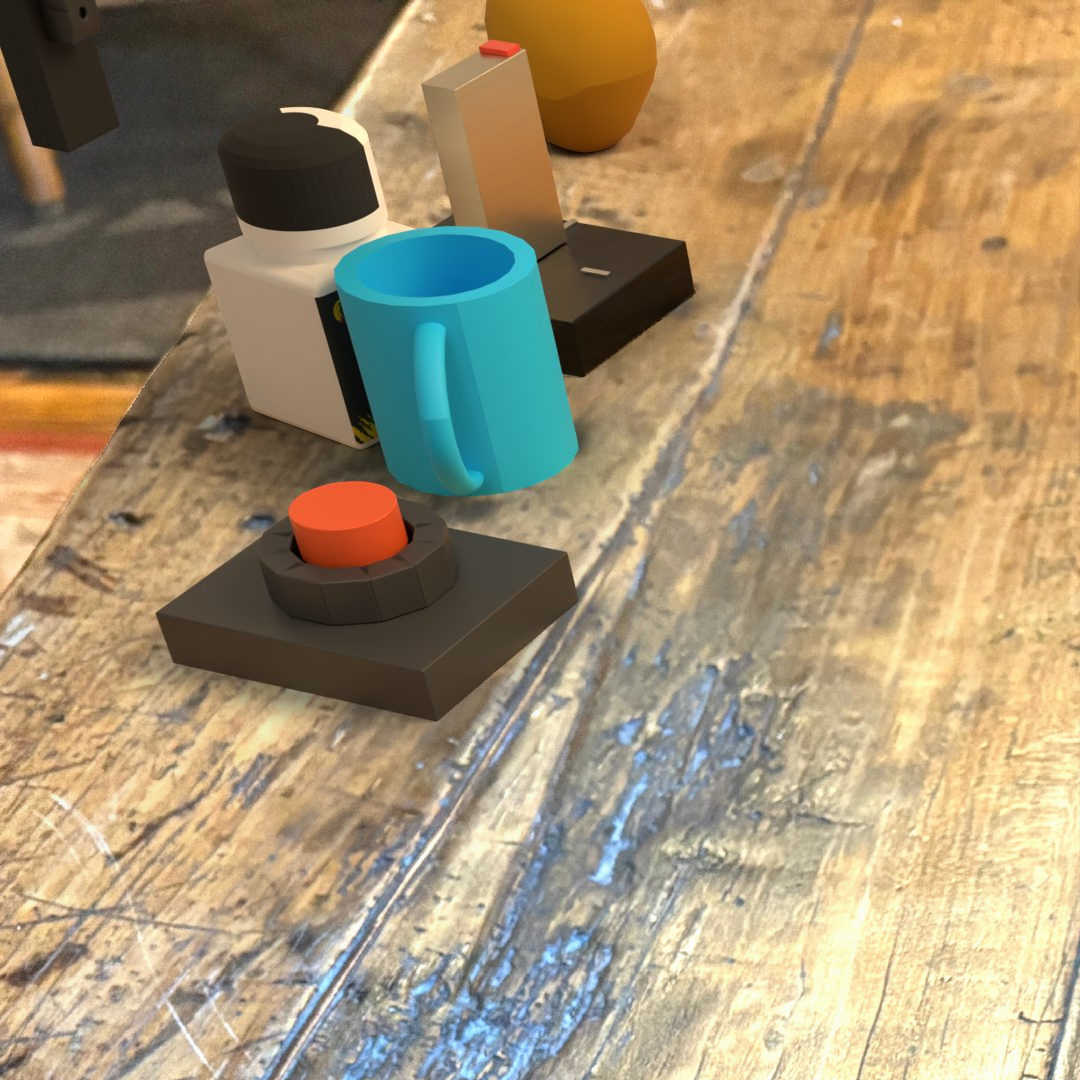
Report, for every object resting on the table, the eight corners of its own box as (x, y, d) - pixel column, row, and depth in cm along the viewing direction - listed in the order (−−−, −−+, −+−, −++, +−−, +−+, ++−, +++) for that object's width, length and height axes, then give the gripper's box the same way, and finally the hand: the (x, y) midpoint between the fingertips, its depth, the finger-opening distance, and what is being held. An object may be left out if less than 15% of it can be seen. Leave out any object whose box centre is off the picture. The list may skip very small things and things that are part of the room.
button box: (172, 664, 103) (138, 568, 100) (327, 549, 110) (299, 456, 107) (437, 723, 101) (409, 627, 98) (580, 601, 107) (557, 508, 104)
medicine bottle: (361, 454, 116) (279, 169, 107) (248, 412, 118) (159, 130, 109) (482, 395, 120) (413, 115, 111) (371, 356, 122) (295, 80, 114)
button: (279, 561, 102) (265, 518, 100) (342, 515, 104) (329, 473, 103) (368, 580, 101) (355, 537, 100) (429, 533, 104) (417, 491, 102)
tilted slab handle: (501, 284, 122) (453, 83, 116) (468, 278, 123) (418, 77, 116) (567, 240, 126) (524, 43, 119) (535, 234, 126) (490, 37, 120)
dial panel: (360, 334, 124) (344, 277, 122) (481, 254, 131) (468, 199, 129) (584, 377, 121) (571, 319, 120) (696, 293, 128) (685, 237, 126)
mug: (399, 416, 118) (347, 229, 112) (586, 408, 119) (545, 222, 113) (362, 545, 110) (305, 351, 104) (564, 535, 111) (518, 342, 105)
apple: (708, 134, 142) (676, -47, 136) (590, 183, 137) (551, -3, 131) (595, 99, 145) (559, -80, 139) (476, 145, 140) (433, -38, 134)
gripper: (80, -734, 76) (304, 130, 93) (-292, -780, 78) (-7, 69, 95) (-106, -698, 71) (167, 207, 88) (-497, -749, 73) (-157, 141, 90)
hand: (76, 135), depth 92 cm, fingers closed
